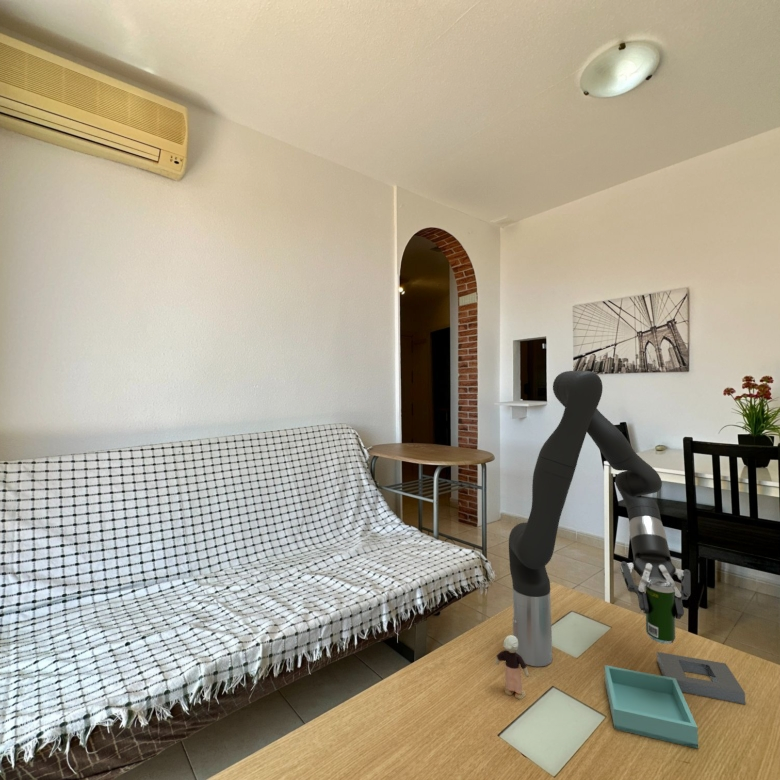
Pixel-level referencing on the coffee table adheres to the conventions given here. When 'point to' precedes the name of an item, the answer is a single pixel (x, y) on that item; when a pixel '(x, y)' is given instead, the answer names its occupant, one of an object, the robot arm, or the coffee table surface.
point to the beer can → (660, 610)
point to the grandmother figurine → (512, 667)
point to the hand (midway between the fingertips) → (662, 614)
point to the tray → (650, 706)
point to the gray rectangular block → (718, 688)
